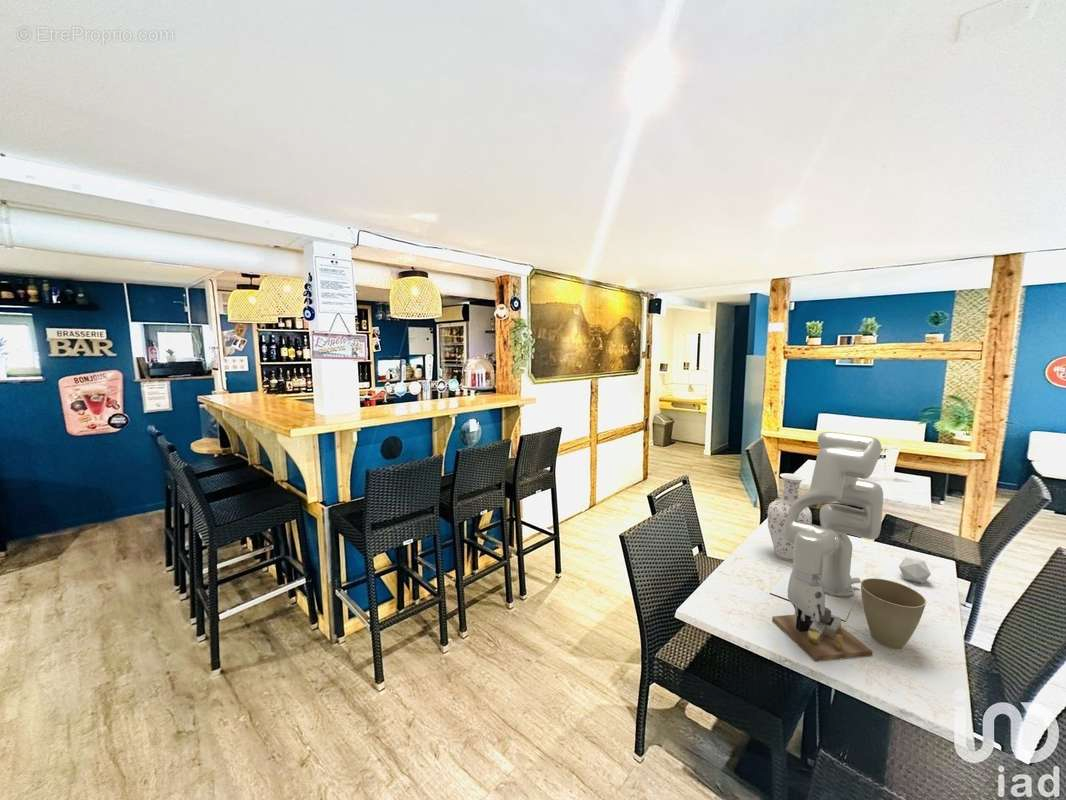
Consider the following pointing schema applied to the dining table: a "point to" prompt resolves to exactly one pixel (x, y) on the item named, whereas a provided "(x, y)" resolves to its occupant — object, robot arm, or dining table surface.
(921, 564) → the die
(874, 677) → the dining table surface
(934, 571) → the dining table surface
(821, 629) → the square frame with handle
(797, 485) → the vase
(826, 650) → the board
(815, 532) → the robot arm
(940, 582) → the dining table surface
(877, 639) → the plant pot
